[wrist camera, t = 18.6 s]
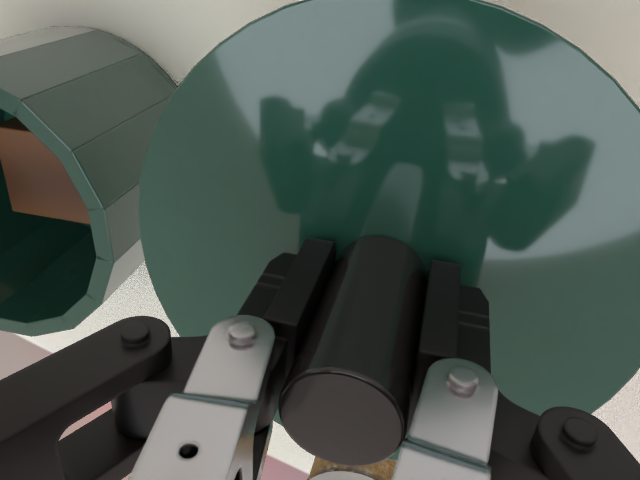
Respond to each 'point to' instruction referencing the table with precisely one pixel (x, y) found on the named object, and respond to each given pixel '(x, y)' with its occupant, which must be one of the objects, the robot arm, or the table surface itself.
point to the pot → (76, 170)
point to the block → (37, 176)
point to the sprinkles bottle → (351, 471)
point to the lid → (404, 202)
